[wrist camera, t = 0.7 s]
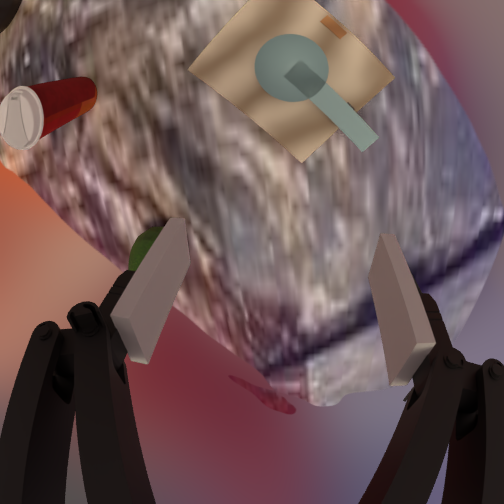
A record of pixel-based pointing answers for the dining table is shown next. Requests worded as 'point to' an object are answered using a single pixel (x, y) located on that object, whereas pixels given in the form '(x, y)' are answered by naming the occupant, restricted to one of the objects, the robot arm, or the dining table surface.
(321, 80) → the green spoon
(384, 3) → the dining table surface
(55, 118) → the paper cup
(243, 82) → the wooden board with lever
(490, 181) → the dining table surface
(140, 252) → the avocado
